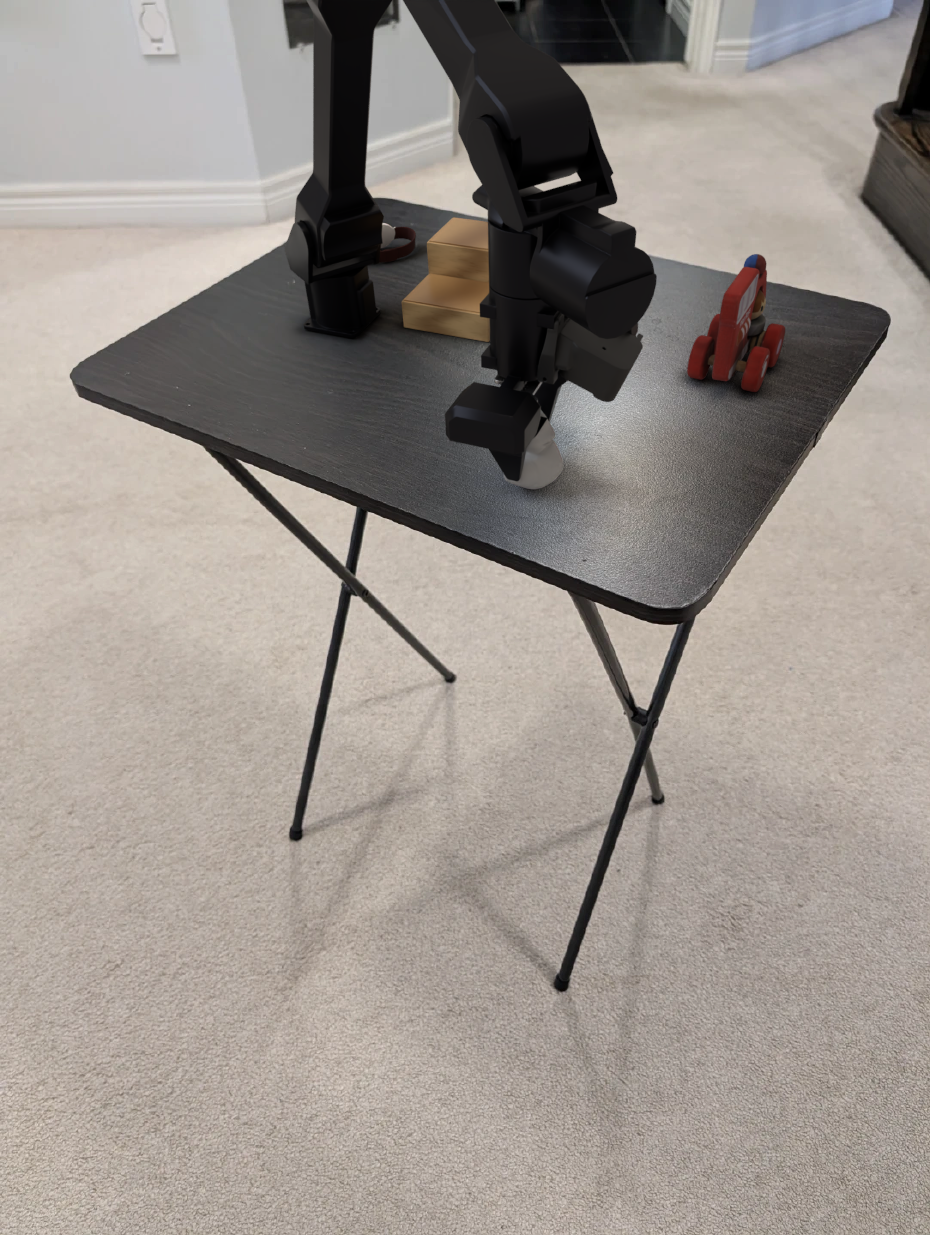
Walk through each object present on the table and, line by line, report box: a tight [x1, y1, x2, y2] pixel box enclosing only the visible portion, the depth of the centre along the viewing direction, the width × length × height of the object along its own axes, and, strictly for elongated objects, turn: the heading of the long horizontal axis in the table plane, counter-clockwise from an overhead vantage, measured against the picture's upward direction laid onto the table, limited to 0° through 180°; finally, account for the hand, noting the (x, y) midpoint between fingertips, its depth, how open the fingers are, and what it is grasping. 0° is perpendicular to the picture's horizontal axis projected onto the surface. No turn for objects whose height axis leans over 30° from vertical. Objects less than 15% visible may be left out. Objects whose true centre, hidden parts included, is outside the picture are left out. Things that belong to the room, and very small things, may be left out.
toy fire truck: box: [686, 253, 786, 393], centre depth 84 cm, size 7×12×10 cm, turn 151°
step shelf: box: [401, 217, 490, 343], centre depth 97 cm, size 10×14×7 cm
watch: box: [379, 222, 417, 263], centre depth 109 cm, size 8×5×4 cm, turn 115°
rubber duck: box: [493, 411, 564, 490], centre depth 74 cm, size 5×7×8 cm
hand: (525, 460), depth 75 cm, fingers closed on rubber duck, 5 cm apart
